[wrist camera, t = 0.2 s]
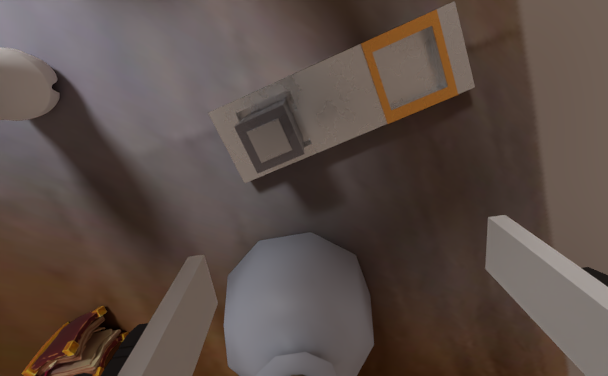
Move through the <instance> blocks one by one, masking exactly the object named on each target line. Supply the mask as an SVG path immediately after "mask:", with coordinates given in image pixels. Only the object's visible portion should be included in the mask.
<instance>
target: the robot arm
mask: <svg viewBox="0 0 608 376" xmlns="http://www.w3.org/2000/svg"><path fill="white" fill-rule="evenodd" d="M485 269H486V270H487V271H488V272H489V273H490V274H491V275H492V276H493V278H494V279H495V280H496V281H497V282H498V283H499V284H500V285H501V286H502V287H503V288H504V289H505V290H506V291H507V292H508V293H509V295H510V296H511V297H512V298H513V299H514V300H515V301H516V302H517V303H518V304H519V305H520V306H521V307H522V308H523V309H524V311H525V312H526V313H527V314H528V315H529V316H530V317H531V318H532V319H533V320H534V321H535V322H536V323H537V324H538V325H539V327H540V328H541V329H542V330H543V331H544V332H545V333H546V334H547V335H548V336H549V337H550V338H551V339H552V340H553V341H554V343H555V344H556V345H557V346H558V347H559V348H560V349H561V350H562V351H563V352H564V353H565V354H566V355H567V356H568V357H569V358H570V360H571V361H572V362H573V363H574V364H575V365H576V366H577V367H578V368H579V369H580V370H581V371H582V372H583V373H584V374H585V376H608V275H606V274H603V273H601V272H599V271H596V270H594V269H591V268H589V267H585V268H580V267H579V266H577V265H576V264H575V263H573V262H572V261H570V260H569V259H567V258H566V257H565V256H563V255H562V254H560V253H559V252H557V251H556V250H555V249H553V248H552V247H550V246H549V245H547V244H546V243H545V242H543V241H542V240H540V239H539V238H537V237H536V236H535V235H533V234H532V233H530V232H529V231H527V230H526V229H525V228H523V227H522V226H520V225H519V224H517V223H516V222H515V221H513V220H512V219H510V218H509V217H507V216H506V215H501V216H493V217H488V228H487V247H486V266H485ZM217 304H218V302H217V298H216V294H215V291H214V287H213V284H212V280H211V277H210V273H209V269H208V266H207V262H206V259H205V255H198V256H191V257H188V258H187V260H186V262H185V263H184V265H183V267H182V268H181V270H180V272H179V273H178V275H177V277H176V278H175V280H174V282H173V283H172V285H171V287H170V288H169V290H168V292H167V293H166V295H165V297H164V298H163V300H162V302H161V303H160V305H159V307H158V308H157V310H156V312H155V314H154V315H153V317H152V319H151V320H150V322H149V323H147V324H139V325H138V326H136V327H135V328H134V329H133V330H132V331H131V332H130V333H129V334H128V335H127V336H126V337H125V339H124V340H123V342H122V343H121V345H120V346H119V350H117V351H116V353H115V354H114V356H113V357H112V358H113V359H112V360H110V362H109V363H108V365H107V366H106V368H105V369H104V371H103V372H102V374H101V376H192V375H193V372H194V369H195V366H196V363H197V361H198V358H199V355H200V352H201V349H202V346H203V344H204V341H205V338H206V335H207V332H208V329H209V327H210V324H211V321H212V318H213V315H214V312H215V309H216V307H217ZM73 376H93V375H92V374H89V373H81V374H76V375H73Z"/></svg>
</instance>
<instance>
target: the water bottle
mask: <svg viewBox="0 0 608 376" xmlns="http://www.w3.org/2000/svg"><path fill="white" fill-rule="evenodd" d="M57 80H58V79H57V76H56V73H55V72H54V70H53V69H52V68H51V67H50V66H49V65H48V64H47V63H45V62H44V61H42V60H41V59H39V58H37V57H34V56H32V55H29V54H27V53H25V52H22V51H20V50H17V49H11V48H0V120H12V121H21V120H28V119H33V118H36V117H39V116H42V115H44V114H46V113H48V112H49V111H50V110H52V108H54V107H55V105H56V104H57V102H58V100H59V98H60V93H59V92H56V91H55V90H53V89H52V85H53V84H54V83H56V82H57Z"/></svg>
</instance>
